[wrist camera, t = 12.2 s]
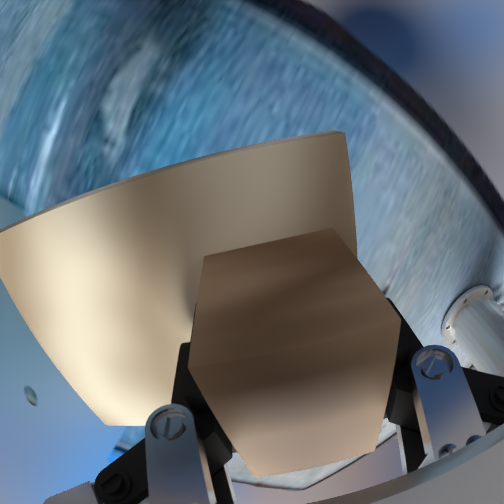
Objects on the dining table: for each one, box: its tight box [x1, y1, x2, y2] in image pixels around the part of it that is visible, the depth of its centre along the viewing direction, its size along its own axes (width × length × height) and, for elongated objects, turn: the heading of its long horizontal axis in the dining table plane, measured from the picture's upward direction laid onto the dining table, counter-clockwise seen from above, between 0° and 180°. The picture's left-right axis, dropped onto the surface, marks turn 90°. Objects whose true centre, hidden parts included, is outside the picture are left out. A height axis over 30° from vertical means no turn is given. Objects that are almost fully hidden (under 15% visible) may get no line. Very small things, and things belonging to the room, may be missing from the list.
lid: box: [0, 130, 401, 478], centre depth 9 cm, size 14×12×6 cm
